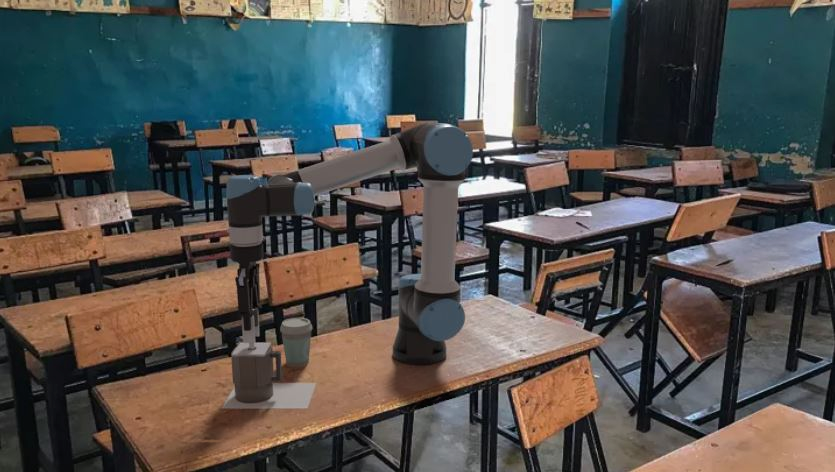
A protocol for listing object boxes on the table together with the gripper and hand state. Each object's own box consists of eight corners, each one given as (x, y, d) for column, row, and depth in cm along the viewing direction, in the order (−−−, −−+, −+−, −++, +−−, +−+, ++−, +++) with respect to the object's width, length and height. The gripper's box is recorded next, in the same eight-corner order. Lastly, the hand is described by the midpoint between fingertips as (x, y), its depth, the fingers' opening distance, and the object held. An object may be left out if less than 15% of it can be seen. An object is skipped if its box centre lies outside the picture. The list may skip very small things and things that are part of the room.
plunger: (262, 371, 166) (259, 306, 162) (259, 377, 162) (255, 311, 159) (247, 371, 166) (244, 306, 162) (243, 377, 162) (240, 311, 159)
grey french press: (285, 387, 169) (283, 341, 167) (278, 403, 161) (276, 355, 158) (240, 387, 169) (237, 341, 167) (230, 403, 161) (227, 355, 158)
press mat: (316, 384, 172) (316, 382, 172) (307, 410, 158) (307, 408, 158) (237, 384, 172) (237, 382, 172) (221, 410, 158) (221, 408, 158)
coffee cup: (307, 371, 180) (305, 328, 177) (276, 369, 181) (274, 326, 179) (318, 359, 188) (316, 318, 185) (288, 357, 190) (287, 316, 187)
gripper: (239, 235, 165) (244, 326, 170) (219, 251, 149) (225, 352, 154) (270, 235, 165) (274, 327, 170) (254, 251, 149) (259, 352, 154)
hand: (251, 338), depth 162 cm, fingers closed on plunger, 4 cm apart
